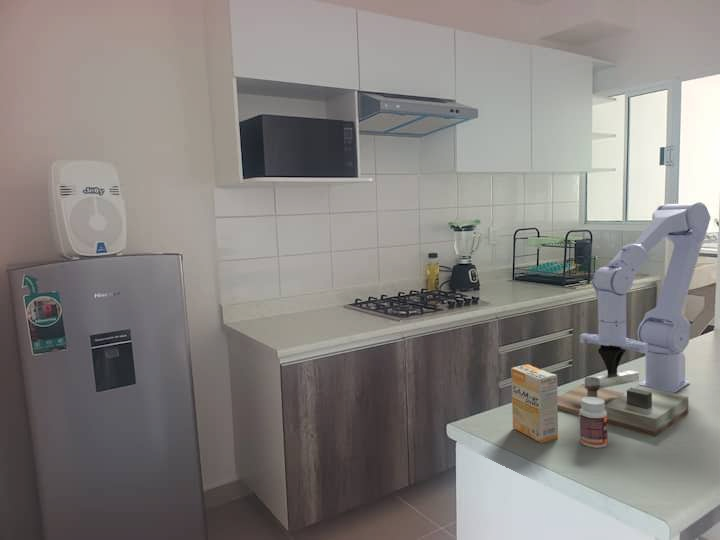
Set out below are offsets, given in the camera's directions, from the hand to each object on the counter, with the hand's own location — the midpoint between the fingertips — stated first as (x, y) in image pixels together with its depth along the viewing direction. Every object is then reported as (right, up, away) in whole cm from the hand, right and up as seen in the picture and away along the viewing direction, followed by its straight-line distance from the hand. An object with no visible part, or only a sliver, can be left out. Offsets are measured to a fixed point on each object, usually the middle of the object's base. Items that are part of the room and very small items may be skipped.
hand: (612, 377), depth 117 cm
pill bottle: (-14, -8, -20) cm, 26 cm away
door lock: (-3, -6, -6) cm, 9 cm away
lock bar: (-1, -1, -2) cm, 3 cm away
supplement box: (-23, -8, -15) cm, 29 cm away
